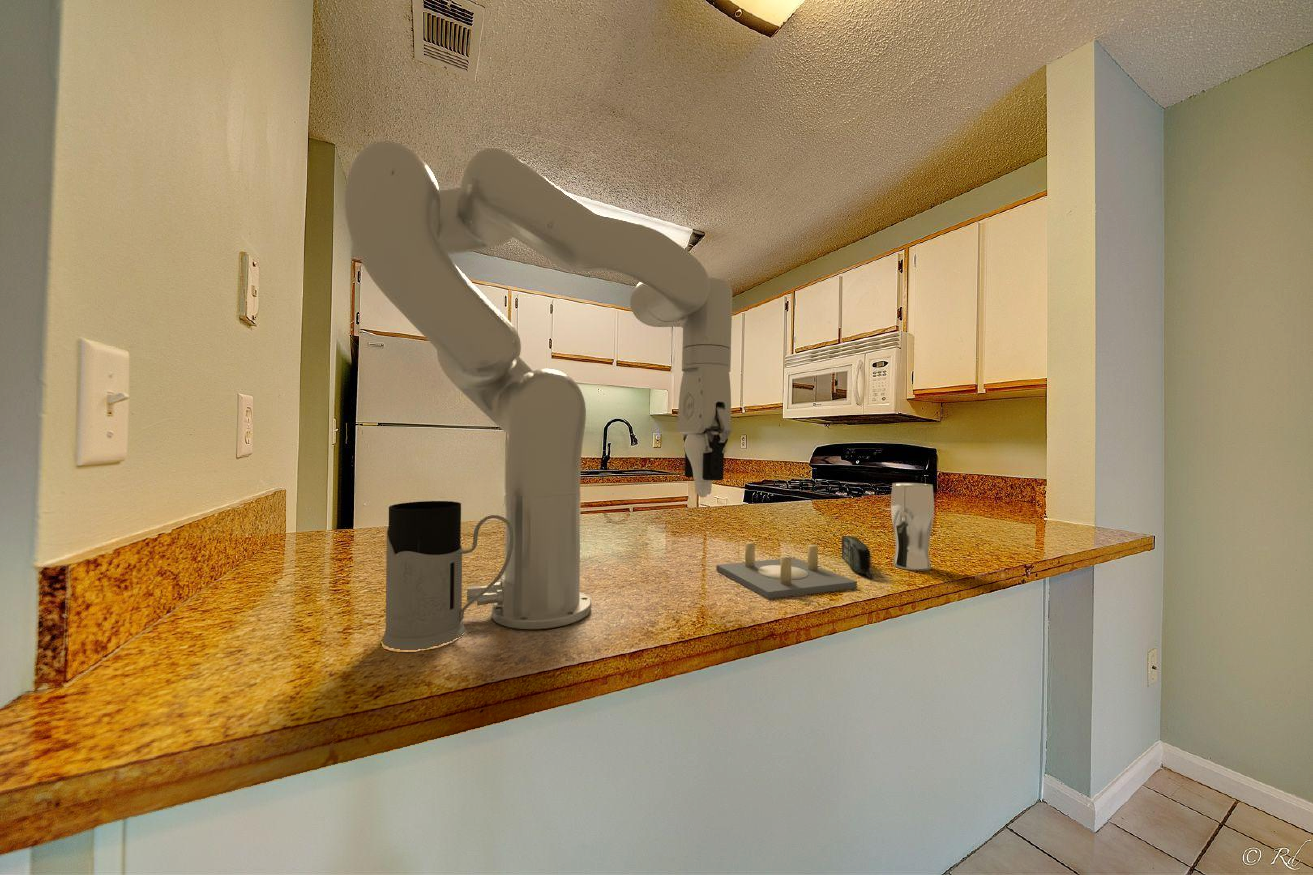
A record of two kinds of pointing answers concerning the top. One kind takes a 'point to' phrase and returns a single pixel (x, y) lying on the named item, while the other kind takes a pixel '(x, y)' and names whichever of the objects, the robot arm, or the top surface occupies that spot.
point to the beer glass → (912, 524)
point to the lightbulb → (698, 462)
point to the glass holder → (427, 574)
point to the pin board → (785, 590)
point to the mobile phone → (856, 555)
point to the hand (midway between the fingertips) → (703, 477)
